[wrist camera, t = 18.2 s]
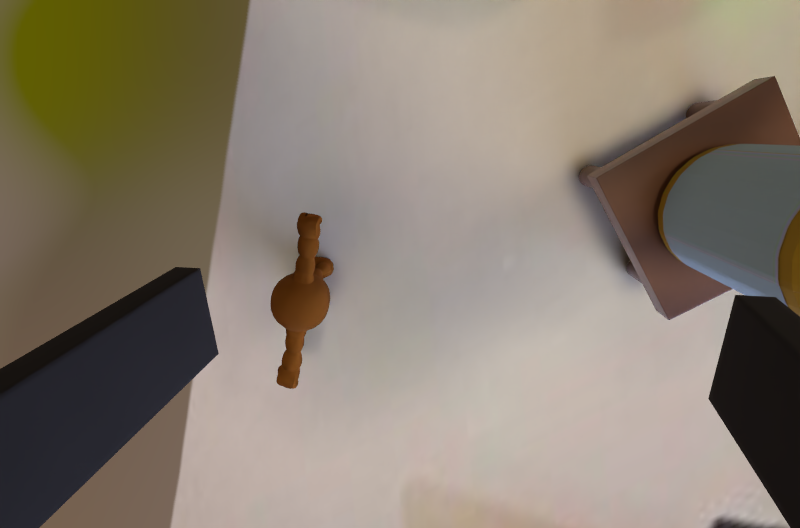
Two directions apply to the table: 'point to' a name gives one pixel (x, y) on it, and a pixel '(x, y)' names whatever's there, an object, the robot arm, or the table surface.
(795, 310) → the bottle
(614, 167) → the footed square tray
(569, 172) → the table surface
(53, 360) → the robot arm
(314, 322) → the toy figurine
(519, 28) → the table surface
